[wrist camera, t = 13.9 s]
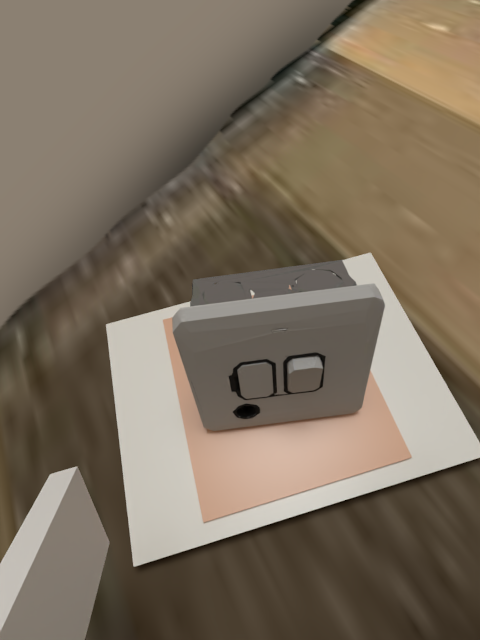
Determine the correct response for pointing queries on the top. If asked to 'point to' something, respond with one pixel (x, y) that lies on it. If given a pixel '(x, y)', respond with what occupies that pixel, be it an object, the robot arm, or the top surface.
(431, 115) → the top surface
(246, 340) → the electrical switch
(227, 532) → the mounting plate
